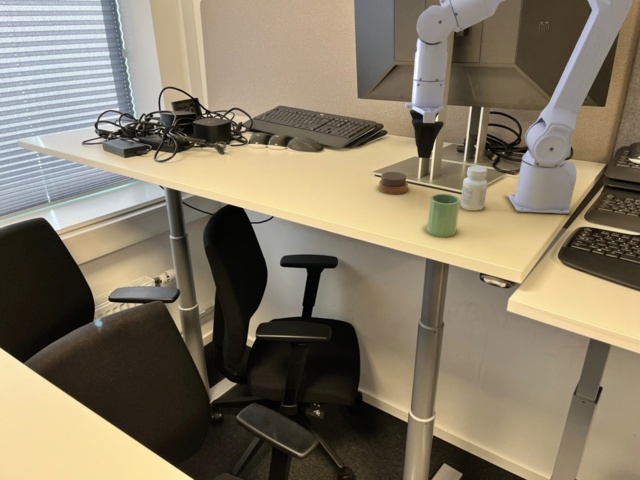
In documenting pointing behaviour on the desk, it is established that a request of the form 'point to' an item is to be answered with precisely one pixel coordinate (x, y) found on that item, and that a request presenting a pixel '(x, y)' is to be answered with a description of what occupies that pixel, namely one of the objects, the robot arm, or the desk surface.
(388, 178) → the brown round lid
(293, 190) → the desk surface
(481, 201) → the pill bottle
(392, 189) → the teak chip
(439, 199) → the plastic cup
